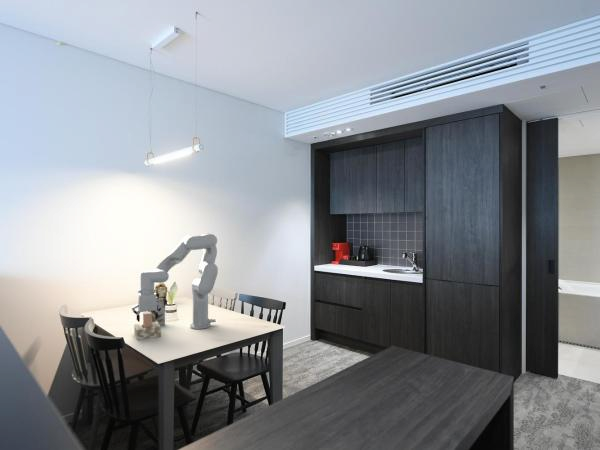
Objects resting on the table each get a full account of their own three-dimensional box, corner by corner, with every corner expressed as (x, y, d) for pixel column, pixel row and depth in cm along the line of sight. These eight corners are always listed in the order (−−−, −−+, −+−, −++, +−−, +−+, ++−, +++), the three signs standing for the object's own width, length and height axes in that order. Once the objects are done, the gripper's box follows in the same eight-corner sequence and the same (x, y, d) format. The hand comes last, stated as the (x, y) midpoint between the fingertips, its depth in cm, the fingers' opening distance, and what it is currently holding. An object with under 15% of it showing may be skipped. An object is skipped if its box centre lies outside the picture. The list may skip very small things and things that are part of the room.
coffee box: (165, 324, 239) (165, 299, 239) (157, 326, 233) (157, 301, 233) (155, 322, 243) (155, 298, 243) (147, 325, 237) (147, 300, 237)
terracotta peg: (152, 334, 215) (152, 313, 215) (144, 335, 213) (144, 314, 213) (150, 331, 221) (150, 311, 220) (143, 332, 218) (143, 312, 218)
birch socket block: (157, 330, 226) (157, 321, 226) (160, 336, 214) (160, 327, 214) (134, 333, 219) (134, 324, 219) (136, 339, 208) (136, 330, 208)
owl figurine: (148, 302, 300) (148, 282, 300) (162, 300, 308) (162, 280, 308) (157, 306, 287) (157, 284, 287) (172, 304, 296) (172, 283, 296)
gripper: (132, 294, 209) (132, 323, 209) (163, 291, 217) (163, 319, 218) (130, 291, 215) (130, 320, 216) (161, 289, 224) (161, 316, 224)
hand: (147, 320), depth 217 cm, fingers open, 9 cm apart
